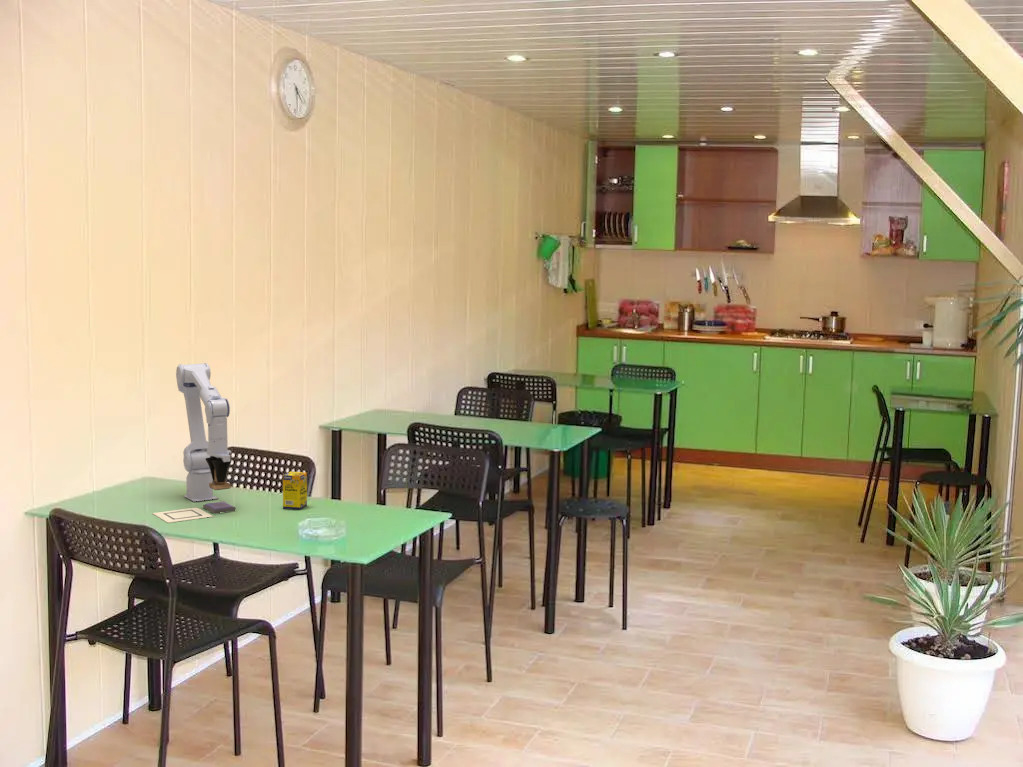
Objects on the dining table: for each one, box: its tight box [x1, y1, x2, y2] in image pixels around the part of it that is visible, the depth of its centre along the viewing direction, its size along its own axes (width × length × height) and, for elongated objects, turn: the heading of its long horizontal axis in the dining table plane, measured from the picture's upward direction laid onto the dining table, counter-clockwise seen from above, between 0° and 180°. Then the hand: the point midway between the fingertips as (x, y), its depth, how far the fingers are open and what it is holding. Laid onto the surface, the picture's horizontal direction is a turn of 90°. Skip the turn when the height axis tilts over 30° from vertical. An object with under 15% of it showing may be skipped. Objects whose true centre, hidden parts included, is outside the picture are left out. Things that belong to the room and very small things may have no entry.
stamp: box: [209, 470, 232, 491], centre depth 355 cm, size 5×5×7 cm
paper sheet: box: [152, 507, 214, 524], centre depth 348 cm, size 14×14×1 cm
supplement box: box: [282, 471, 308, 511], centre depth 359 cm, size 6×6×11 cm
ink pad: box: [202, 500, 237, 514], centre depth 355 cm, size 9×7×2 cm
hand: (218, 481), depth 354 cm, fingers closed on stamp, 3 cm apart
